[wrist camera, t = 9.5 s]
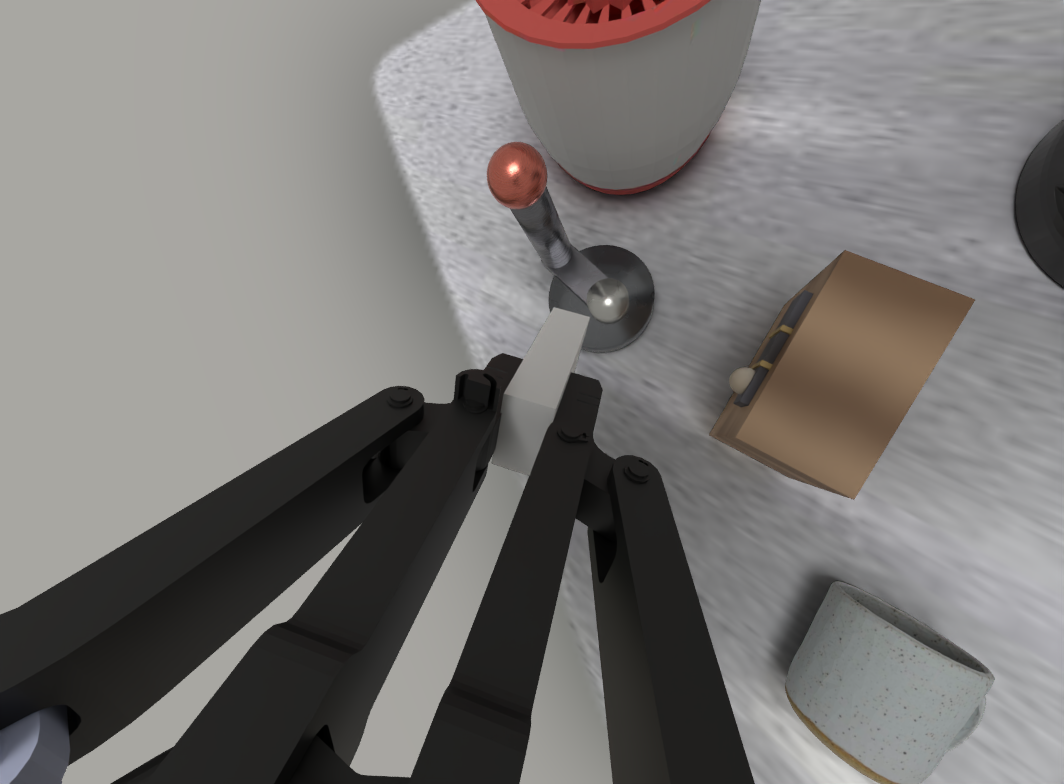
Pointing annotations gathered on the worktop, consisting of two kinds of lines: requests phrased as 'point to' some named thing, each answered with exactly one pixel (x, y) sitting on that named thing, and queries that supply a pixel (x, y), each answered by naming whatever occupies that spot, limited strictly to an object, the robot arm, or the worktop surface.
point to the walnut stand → (839, 372)
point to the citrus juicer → (622, 80)
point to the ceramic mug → (884, 687)
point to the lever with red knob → (574, 255)
